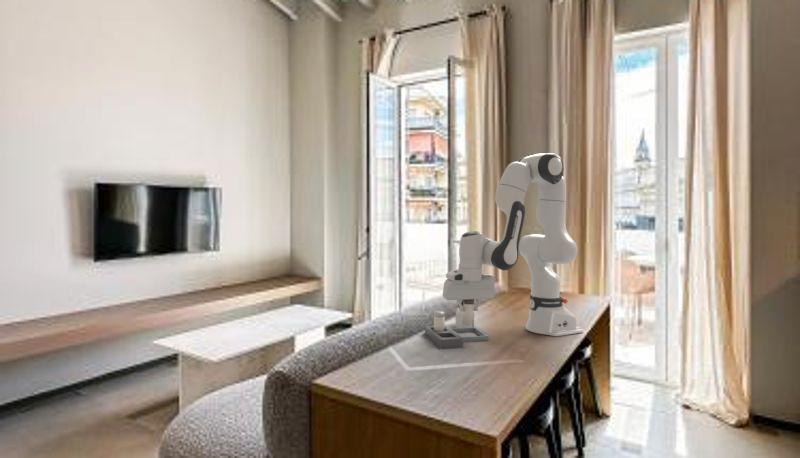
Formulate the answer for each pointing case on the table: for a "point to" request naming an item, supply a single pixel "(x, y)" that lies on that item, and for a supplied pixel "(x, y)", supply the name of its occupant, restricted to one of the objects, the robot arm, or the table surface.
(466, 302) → the cylinder
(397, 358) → the table surface
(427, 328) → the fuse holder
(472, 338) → the parts tray
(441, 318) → the dome-capped cream cylinder
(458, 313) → the medicine bottle
